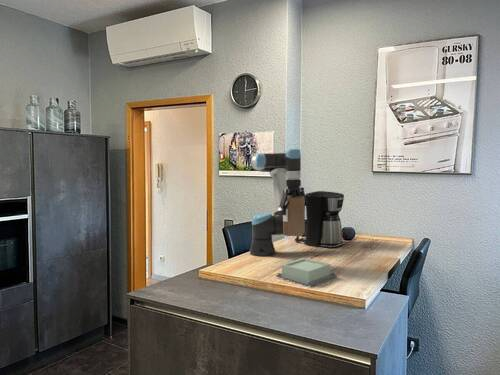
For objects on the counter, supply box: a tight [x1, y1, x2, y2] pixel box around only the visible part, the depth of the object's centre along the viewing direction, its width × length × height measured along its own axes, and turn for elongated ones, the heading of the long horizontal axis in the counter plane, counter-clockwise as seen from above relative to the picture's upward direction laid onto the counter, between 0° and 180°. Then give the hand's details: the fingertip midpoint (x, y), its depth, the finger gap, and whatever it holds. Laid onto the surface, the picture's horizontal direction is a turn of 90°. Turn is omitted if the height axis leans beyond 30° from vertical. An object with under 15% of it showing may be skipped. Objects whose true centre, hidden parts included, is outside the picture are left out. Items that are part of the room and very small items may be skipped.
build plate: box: [275, 257, 337, 287], centre depth 185 cm, size 20×20×6 cm
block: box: [283, 196, 306, 237], centre depth 205 cm, size 10×10×20 cm
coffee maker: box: [294, 190, 345, 249], centre depth 252 cm, size 23×32×34 cm
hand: (294, 219), depth 205 cm, fingers closed on block, 13 cm apart
